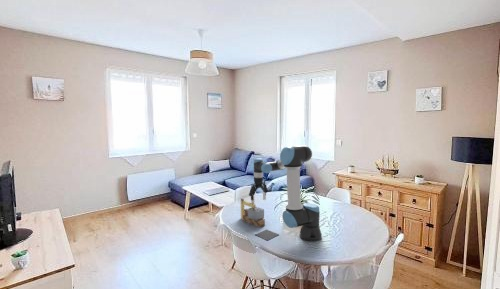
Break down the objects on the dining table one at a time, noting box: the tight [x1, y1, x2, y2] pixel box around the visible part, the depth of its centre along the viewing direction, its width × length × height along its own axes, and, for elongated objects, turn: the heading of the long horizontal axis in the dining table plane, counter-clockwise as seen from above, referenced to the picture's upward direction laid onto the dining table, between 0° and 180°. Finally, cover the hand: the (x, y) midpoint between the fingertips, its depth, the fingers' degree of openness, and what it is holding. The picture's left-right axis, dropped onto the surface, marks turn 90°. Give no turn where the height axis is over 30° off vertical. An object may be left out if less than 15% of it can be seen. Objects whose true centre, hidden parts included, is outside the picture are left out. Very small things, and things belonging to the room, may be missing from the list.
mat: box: [254, 229, 279, 241], centre depth 189 cm, size 12×12×1 cm
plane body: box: [241, 208, 266, 228], centre depth 210 cm, size 20×5×9 cm, turn 44°
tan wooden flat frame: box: [240, 198, 257, 220], centre depth 214 cm, size 16×3×16 cm, turn 44°
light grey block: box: [247, 206, 265, 221], centre depth 208 cm, size 10×8×7 cm
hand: (258, 201), depth 222 cm, fingers open, 13 cm apart
